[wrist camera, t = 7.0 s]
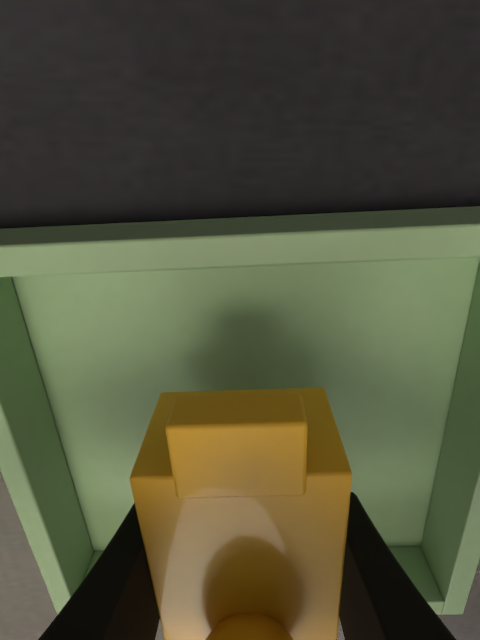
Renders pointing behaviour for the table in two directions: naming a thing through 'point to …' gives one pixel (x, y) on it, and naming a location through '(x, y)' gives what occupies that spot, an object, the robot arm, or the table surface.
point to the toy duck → (244, 514)
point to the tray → (247, 366)
